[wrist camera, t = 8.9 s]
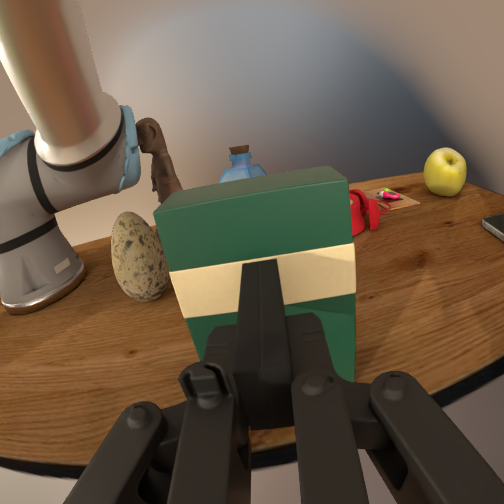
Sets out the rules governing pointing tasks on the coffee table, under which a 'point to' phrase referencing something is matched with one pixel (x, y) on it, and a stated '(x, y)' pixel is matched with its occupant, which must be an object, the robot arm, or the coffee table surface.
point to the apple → (445, 172)
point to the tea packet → (265, 251)
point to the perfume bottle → (241, 165)
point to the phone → (495, 225)
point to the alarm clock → (364, 211)
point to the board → (390, 198)
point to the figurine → (157, 159)
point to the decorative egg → (138, 258)
